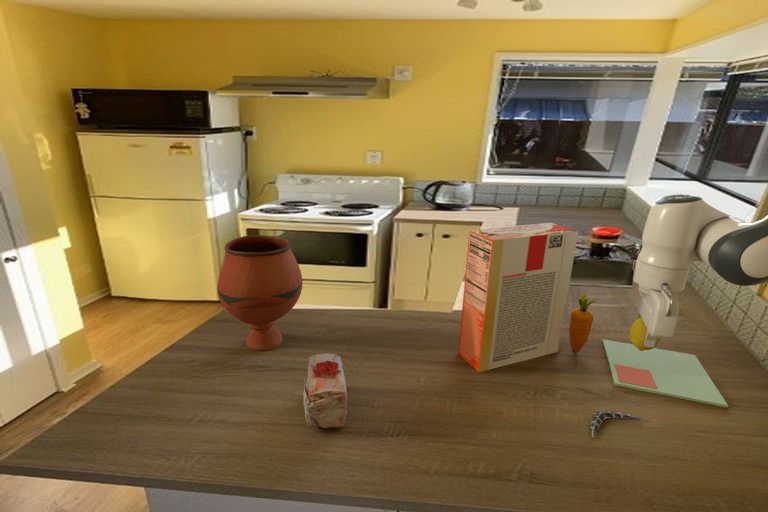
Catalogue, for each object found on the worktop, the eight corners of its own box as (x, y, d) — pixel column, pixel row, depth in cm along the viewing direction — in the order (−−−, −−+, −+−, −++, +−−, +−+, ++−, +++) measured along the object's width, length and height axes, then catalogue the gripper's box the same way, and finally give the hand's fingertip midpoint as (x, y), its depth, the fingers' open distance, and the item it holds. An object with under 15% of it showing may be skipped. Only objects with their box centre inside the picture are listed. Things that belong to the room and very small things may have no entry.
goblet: (256, 373, 90) (248, 262, 82) (206, 344, 101) (194, 243, 93) (321, 339, 104) (319, 242, 97) (271, 316, 115) (265, 227, 108)
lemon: (627, 341, 93) (635, 308, 91) (657, 349, 90) (666, 315, 88) (624, 352, 89) (632, 317, 87) (655, 360, 86) (664, 325, 84)
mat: (694, 357, 101) (695, 354, 101) (727, 408, 83) (728, 405, 83) (602, 341, 107) (602, 338, 107) (614, 385, 89) (615, 382, 89)
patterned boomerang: (620, 401, 83) (644, 418, 79) (620, 404, 83) (643, 421, 79) (571, 416, 78) (594, 436, 74) (571, 420, 78) (593, 439, 74)
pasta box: (533, 336, 109) (550, 222, 99) (557, 351, 102) (578, 230, 92) (458, 354, 100) (469, 230, 90) (478, 372, 93) (493, 240, 83)
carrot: (568, 345, 105) (579, 289, 100) (589, 353, 101) (601, 295, 97) (560, 352, 101) (570, 295, 97) (581, 361, 98) (592, 301, 93)
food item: (351, 432, 74) (351, 383, 71) (304, 437, 72) (302, 388, 69) (342, 385, 87) (342, 342, 84) (303, 389, 85) (301, 345, 82)
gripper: (695, 298, 74) (676, 366, 78) (664, 263, 93) (650, 320, 97) (654, 292, 76) (637, 359, 80) (632, 259, 94) (619, 315, 99)
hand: (644, 337), depth 89 cm, fingers closed on lemon, 5 cm apart
